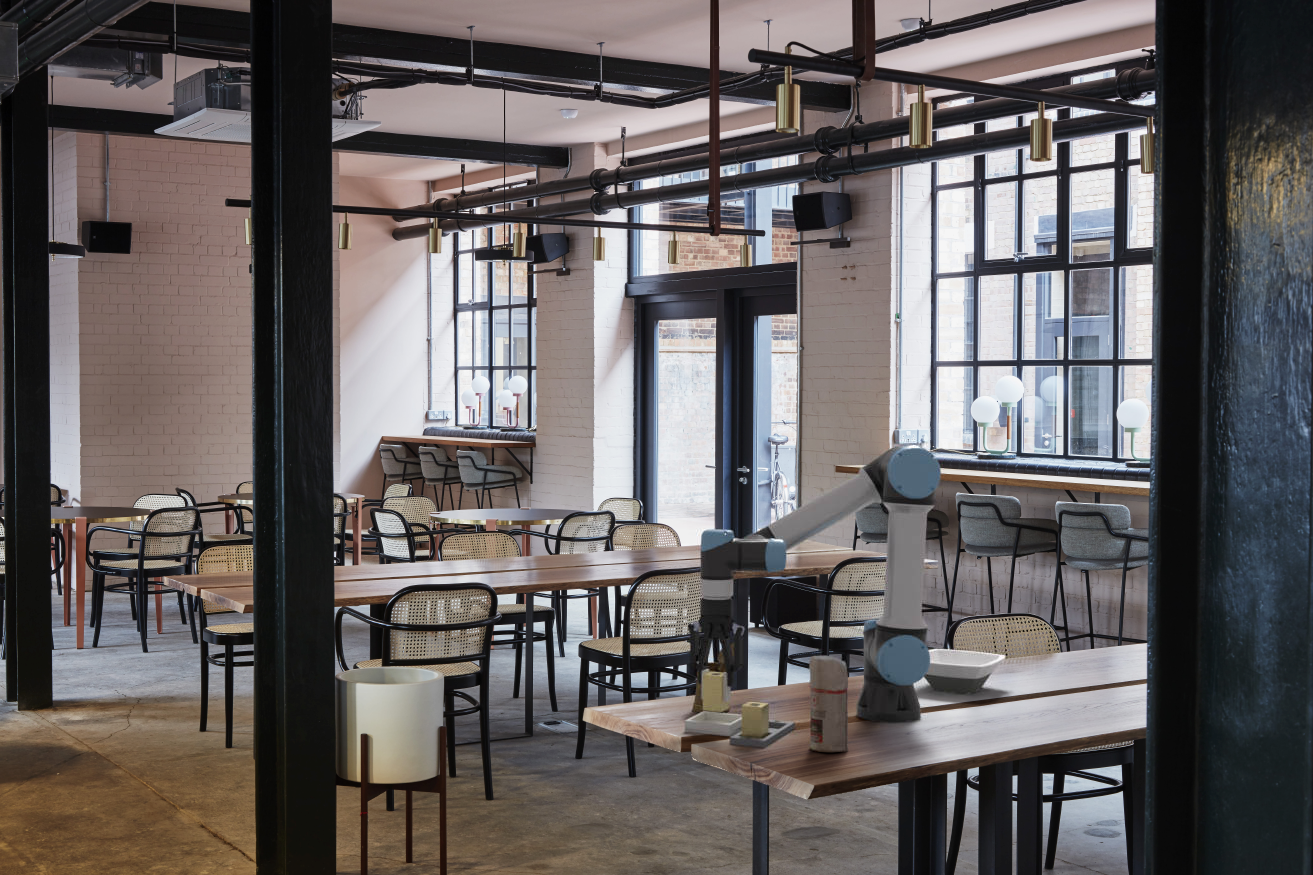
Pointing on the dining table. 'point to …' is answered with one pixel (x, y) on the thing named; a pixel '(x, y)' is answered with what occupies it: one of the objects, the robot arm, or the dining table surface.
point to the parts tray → (714, 723)
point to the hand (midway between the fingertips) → (716, 699)
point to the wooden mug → (712, 668)
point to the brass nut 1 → (713, 692)
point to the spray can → (828, 704)
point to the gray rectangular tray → (774, 734)
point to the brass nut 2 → (755, 720)
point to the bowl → (960, 669)
